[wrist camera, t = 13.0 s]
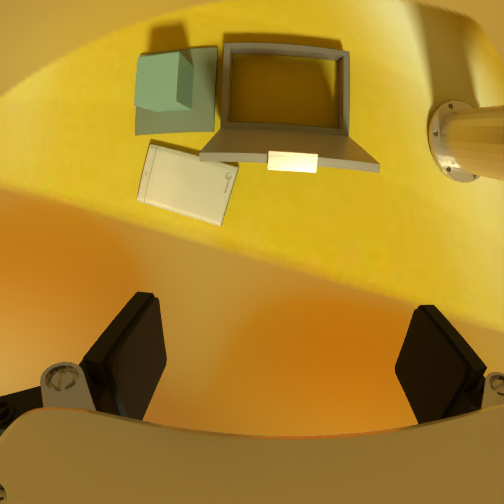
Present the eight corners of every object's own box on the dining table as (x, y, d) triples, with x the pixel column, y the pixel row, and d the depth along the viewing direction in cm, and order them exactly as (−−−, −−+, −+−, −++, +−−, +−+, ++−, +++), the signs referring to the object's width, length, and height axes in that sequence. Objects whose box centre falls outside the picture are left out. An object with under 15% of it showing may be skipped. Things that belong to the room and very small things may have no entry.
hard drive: (238, 167, 36) (149, 143, 36) (220, 227, 39) (135, 201, 38) (239, 166, 38) (153, 143, 37) (222, 224, 40) (140, 199, 40)
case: (344, 57, 31) (349, 51, 29) (343, 137, 35) (348, 136, 33) (226, 49, 32) (224, 43, 30) (223, 130, 36) (220, 128, 33)
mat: (217, 48, 32) (217, 47, 31) (214, 131, 36) (213, 131, 35) (141, 56, 32) (140, 55, 32) (136, 135, 36) (135, 135, 36)
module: (194, 67, 33) (179, 51, 26) (191, 109, 34) (176, 101, 28) (158, 71, 33) (138, 57, 26) (155, 112, 35) (134, 105, 28)
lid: (383, 162, 23) (380, 179, 23) (348, 133, 33) (347, 145, 34) (197, 149, 23) (198, 168, 24) (220, 125, 33) (220, 137, 34)
